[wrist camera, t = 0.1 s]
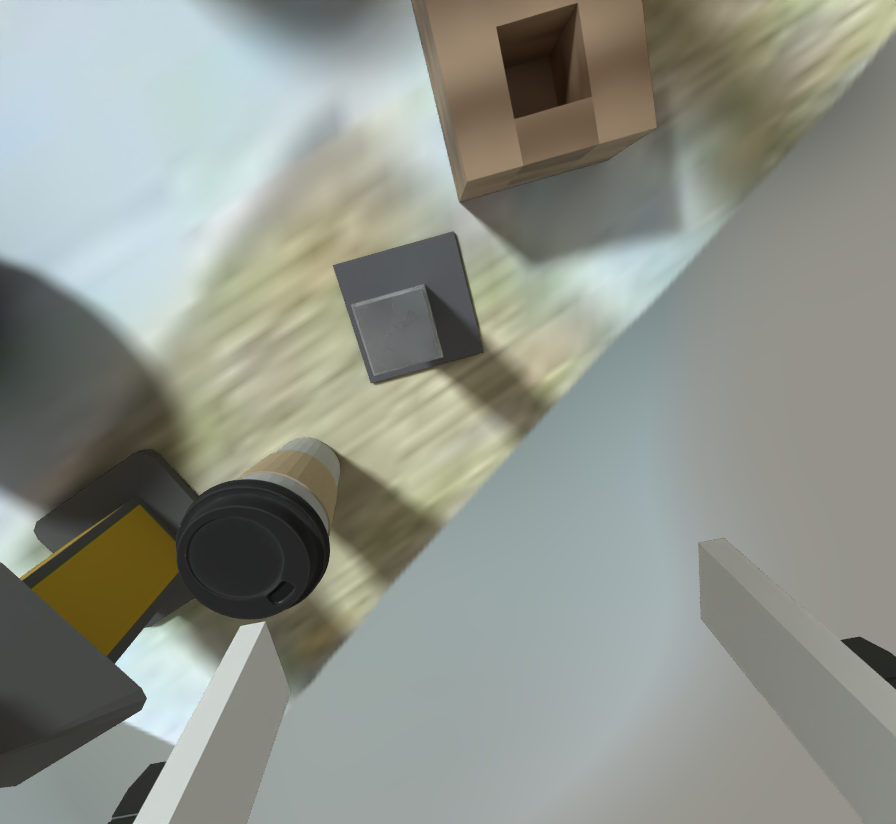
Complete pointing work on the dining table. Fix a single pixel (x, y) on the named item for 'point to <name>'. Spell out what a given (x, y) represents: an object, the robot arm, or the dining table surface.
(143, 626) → the lantern
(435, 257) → the mat
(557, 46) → the socket block
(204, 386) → the dining table surface
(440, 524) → the dining table surface
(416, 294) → the plug
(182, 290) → the dining table surface
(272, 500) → the coffee cup
